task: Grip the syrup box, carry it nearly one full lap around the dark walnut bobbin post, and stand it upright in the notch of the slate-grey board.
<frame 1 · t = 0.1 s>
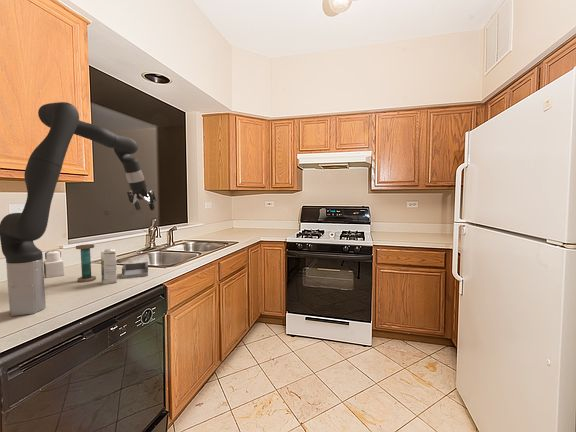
hand: (145, 209, 153), 31 cm above the counter, tool tilted 20°, fingers open, 8 cm apart
syrup box: (109, 282, 133), on the counter
medicine bottle: (54, 275, 144), on the counter
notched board: (135, 274, 145), on the counter
bobbin post: (86, 280, 136), on the counter
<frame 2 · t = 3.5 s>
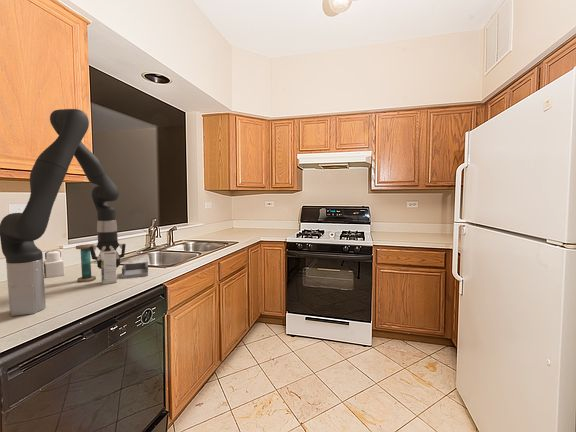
hand: (109, 267, 133), 7 cm above the counter, tool pointing down, fingers closed on syrup box, 6 cm apart
syrup box: (109, 282, 133), on the counter, touching gripper
everything else where it was.
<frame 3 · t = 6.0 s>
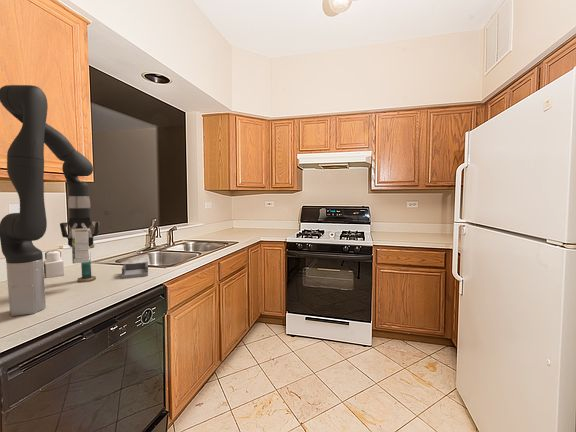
hand: (81, 246, 126), 17 cm above the counter, tool pointing down, fingers closed on syrup box, 6 cm apart
syrup box: (81, 262, 126), point 10 cm above the counter, touching gripper
everything else where it was.
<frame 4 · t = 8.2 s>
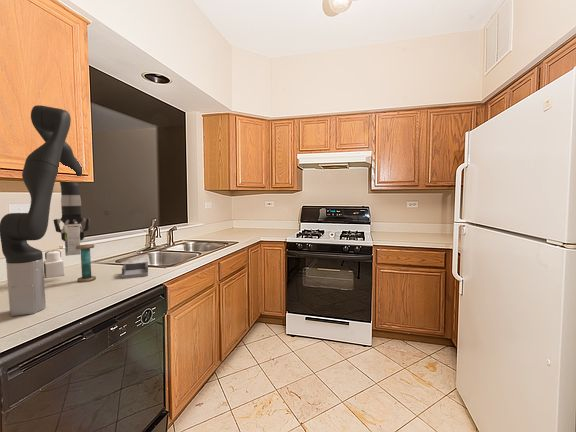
hand: (73, 240, 139), 18 cm above the counter, tool pointing down, fingers closed on syrup box, 6 cm apart
syrup box: (74, 254, 140), point 11 cm above the counter, touching gripper
everything else where it was.
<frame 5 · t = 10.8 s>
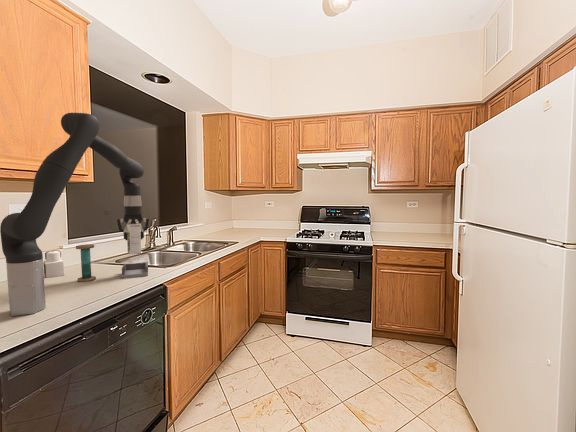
hand: (134, 239, 144), 17 cm above the counter, tool pointing down, fingers closed on syrup box, 6 cm apart
syrup box: (134, 253, 144), point 11 cm above the counter, touching gripper
everything else where it was.
when the fingers open (9 cm above the counter, at t = 13.2 s): syrup box drops 1 cm, resting on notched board.
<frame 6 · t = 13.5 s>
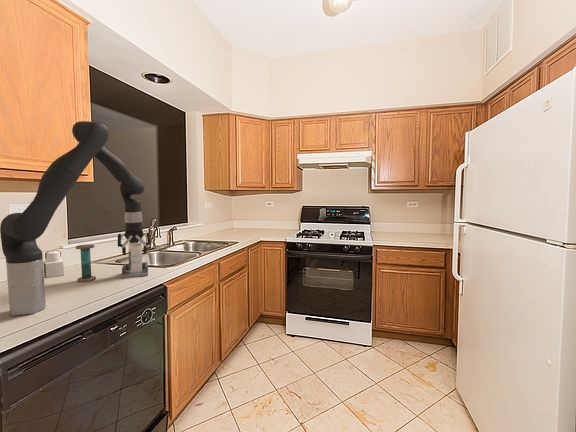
hand: (134, 254, 145), 10 cm above the counter, tool pointing down, fingers open, 8 cm apart
syrup box: (135, 271, 145), point 1 cm above the counter, touching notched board
everything else where it was.
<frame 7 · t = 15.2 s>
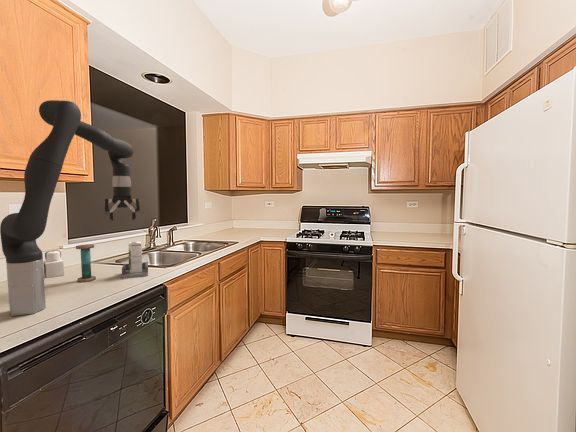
hand: (123, 220, 140), 27 cm above the counter, tool pointing down, fingers open, 8 cm apart
nothing on the counter moved.
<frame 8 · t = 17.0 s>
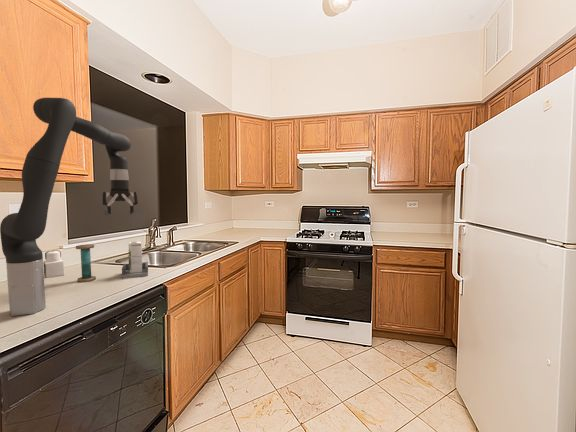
hand: (121, 214, 139), 30 cm above the counter, tool pointing down, fingers open, 8 cm apart
nothing on the counter moved.
at the end: syrup box 0.2 cm off-centre on the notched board, point 1.3 cm above the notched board's base; syrup box tilted 0°; the gripper is holding nothing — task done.
